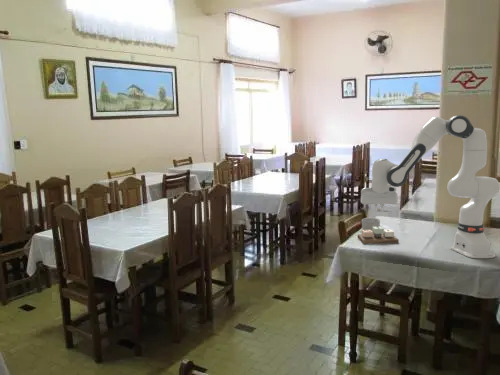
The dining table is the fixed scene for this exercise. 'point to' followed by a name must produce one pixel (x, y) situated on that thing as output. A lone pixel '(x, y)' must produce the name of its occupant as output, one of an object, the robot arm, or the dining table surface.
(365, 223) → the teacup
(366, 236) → the key three
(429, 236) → the dining table surface
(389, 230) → the key one
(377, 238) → the brown flat board
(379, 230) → the key two
